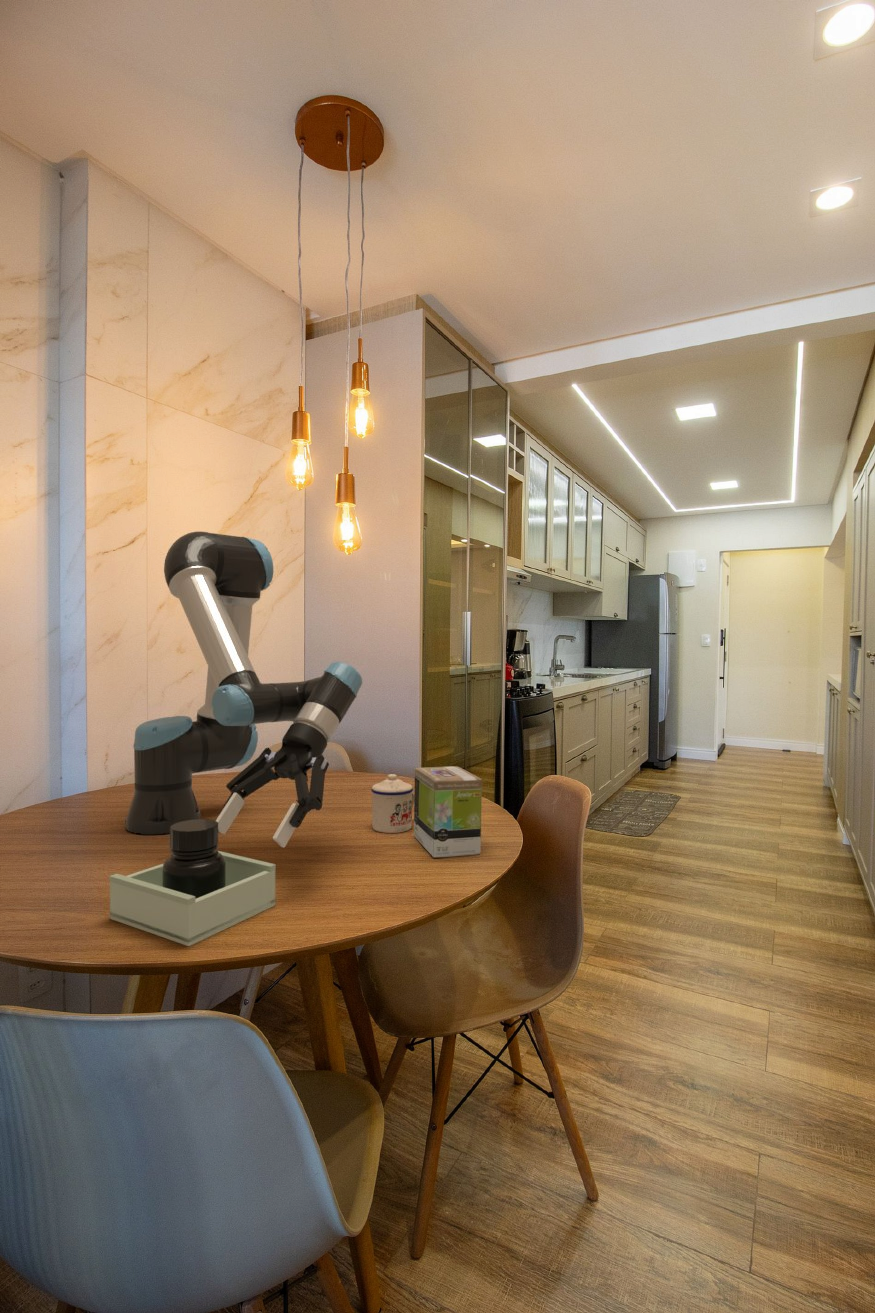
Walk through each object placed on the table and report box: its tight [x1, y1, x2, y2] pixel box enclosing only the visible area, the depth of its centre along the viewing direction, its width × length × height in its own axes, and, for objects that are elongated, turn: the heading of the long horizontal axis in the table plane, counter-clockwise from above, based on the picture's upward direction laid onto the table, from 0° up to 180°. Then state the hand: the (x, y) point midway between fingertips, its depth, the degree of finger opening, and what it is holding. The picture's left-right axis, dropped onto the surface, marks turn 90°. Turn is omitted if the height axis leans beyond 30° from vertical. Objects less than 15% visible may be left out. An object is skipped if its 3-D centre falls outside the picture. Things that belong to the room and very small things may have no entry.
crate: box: [108, 850, 277, 947], centre depth 99 cm, size 17×16×6 cm
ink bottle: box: [162, 818, 226, 899], centre depth 99 cm, size 10×9×12 cm
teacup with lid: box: [371, 773, 415, 834], centre depth 145 cm, size 12×9×12 cm
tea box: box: [413, 765, 483, 858], centre depth 132 cm, size 15×10×15 cm
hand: (247, 836), depth 108 cm, fingers open, 13 cm apart
